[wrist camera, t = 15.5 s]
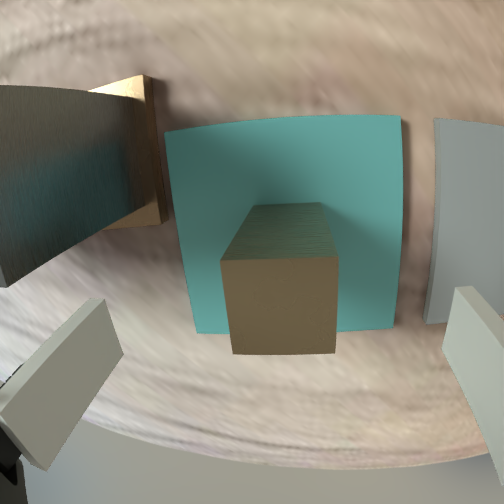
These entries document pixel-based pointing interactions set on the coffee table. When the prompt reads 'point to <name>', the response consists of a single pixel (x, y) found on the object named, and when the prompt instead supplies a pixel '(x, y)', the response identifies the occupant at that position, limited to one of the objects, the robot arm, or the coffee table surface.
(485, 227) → the grey pad
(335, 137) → the teal pad
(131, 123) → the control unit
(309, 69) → the coffee table surface
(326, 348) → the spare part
